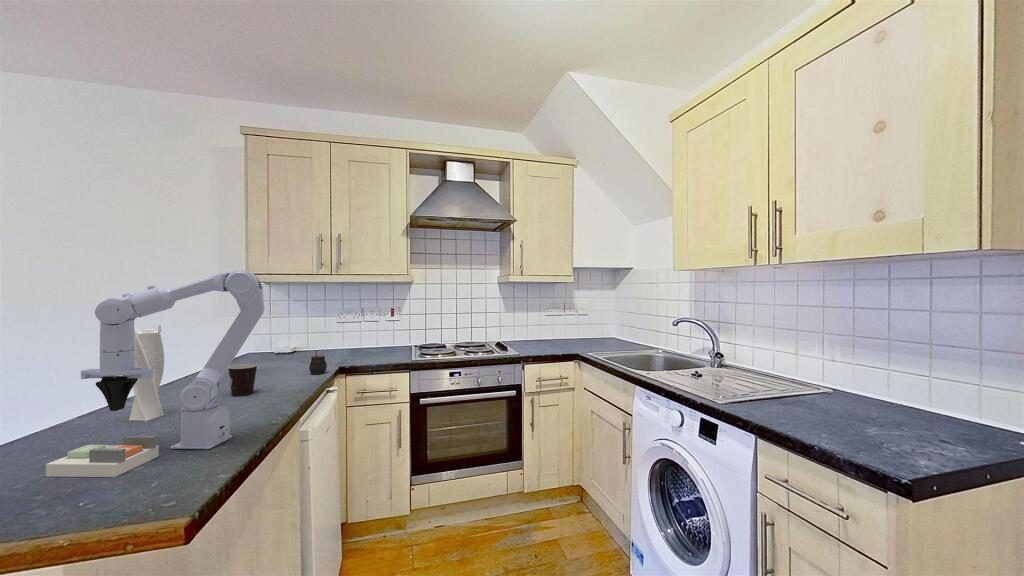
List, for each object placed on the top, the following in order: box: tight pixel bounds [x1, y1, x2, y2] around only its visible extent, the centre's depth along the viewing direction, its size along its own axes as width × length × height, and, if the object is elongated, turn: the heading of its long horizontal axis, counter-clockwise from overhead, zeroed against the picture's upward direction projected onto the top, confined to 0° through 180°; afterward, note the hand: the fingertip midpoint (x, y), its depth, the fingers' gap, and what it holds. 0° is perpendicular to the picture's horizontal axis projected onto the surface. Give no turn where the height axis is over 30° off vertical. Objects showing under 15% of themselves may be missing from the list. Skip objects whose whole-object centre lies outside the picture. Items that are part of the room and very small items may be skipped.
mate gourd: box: [308, 350, 328, 376], centre depth 182 cm, size 7×8×10 cm
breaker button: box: [115, 445, 142, 459], centre depth 86 cm, size 4×4×3 cm
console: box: [45, 435, 160, 478], centre depth 86 cm, size 14×10×5 cm
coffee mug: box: [227, 364, 258, 397], centre depth 144 cm, size 12×9×10 cm
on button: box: [66, 444, 107, 459], centre depth 86 cm, size 4×4×3 cm
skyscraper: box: [124, 323, 169, 423], centre depth 118 cm, size 8×8×28 cm
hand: (117, 409), depth 92 cm, fingers closed
